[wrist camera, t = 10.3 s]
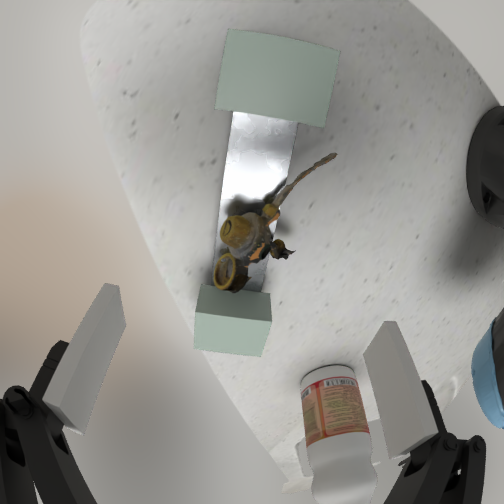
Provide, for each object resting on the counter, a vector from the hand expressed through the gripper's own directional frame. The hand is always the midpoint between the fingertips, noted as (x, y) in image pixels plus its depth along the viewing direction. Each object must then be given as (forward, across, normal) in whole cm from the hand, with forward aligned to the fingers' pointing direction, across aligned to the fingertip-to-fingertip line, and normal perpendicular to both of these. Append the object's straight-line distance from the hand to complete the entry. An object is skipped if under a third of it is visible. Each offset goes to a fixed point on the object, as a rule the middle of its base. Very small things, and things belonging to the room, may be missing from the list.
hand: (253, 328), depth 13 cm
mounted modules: (+13, -1, 0) cm, 13 cm away
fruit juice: (+16, +17, -28) cm, 36 cm away
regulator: (+13, +1, 0) cm, 13 cm away
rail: (+15, -1, 0) cm, 15 cm away
